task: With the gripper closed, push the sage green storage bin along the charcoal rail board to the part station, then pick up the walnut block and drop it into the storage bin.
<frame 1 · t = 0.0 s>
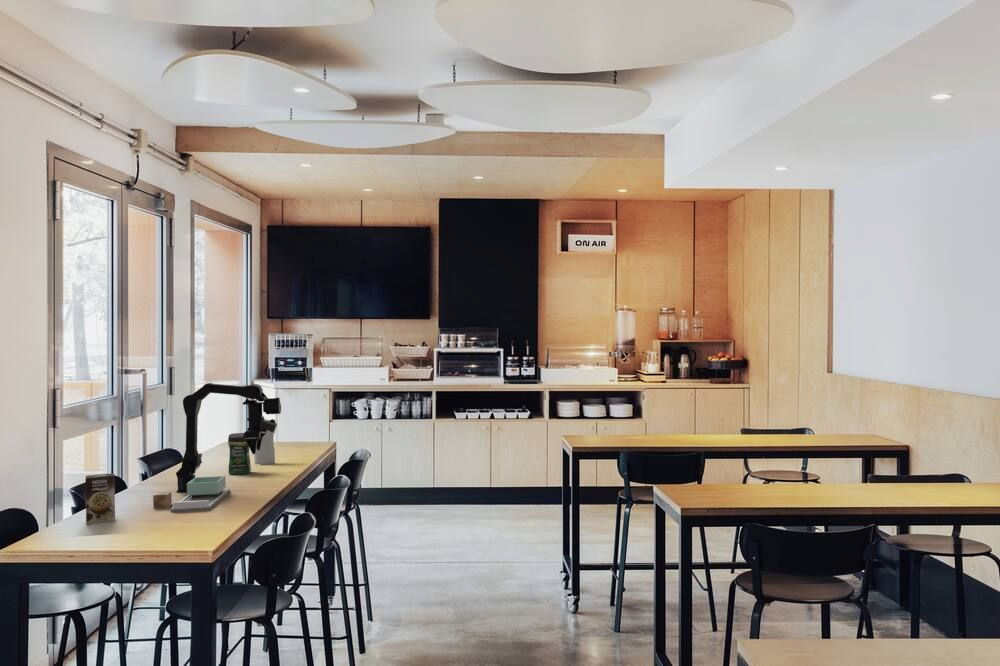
hand: (256, 452, 313), 15 cm above the table, fingers open, 9 cm apart
tall pale column: (264, 464, 366), on the table
block: (162, 506, 283), on the table
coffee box: (101, 521, 263), on the table
sage green storage bin: (206, 487, 296), point 4 cm above the table, slide at 0.0 cm
rail board: (202, 501, 289), on the table
coffee jar: (240, 473, 344), on the table
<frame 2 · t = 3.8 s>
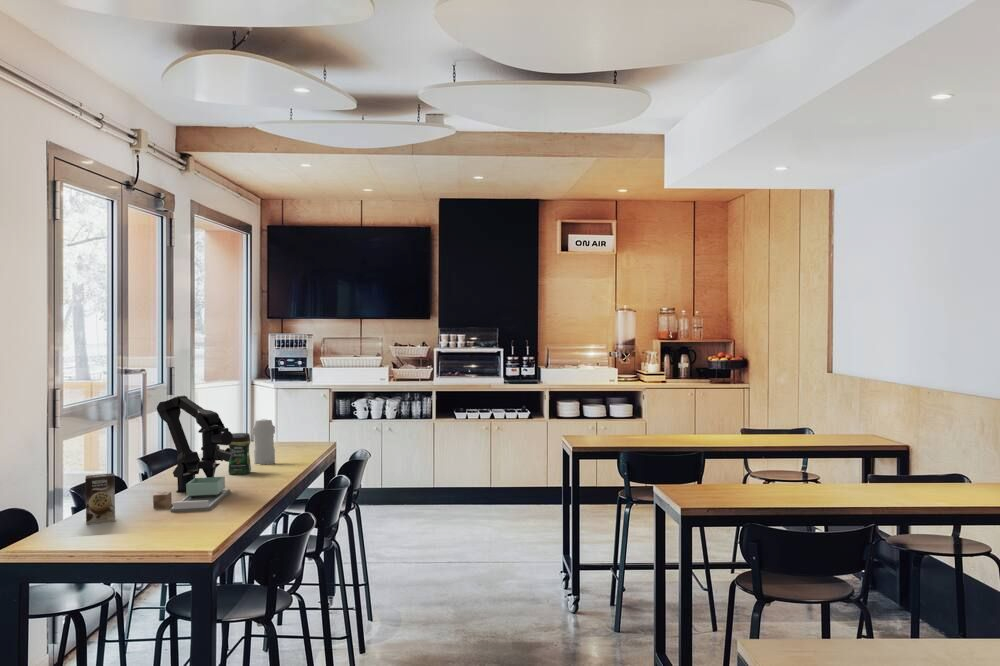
hand: (211, 482, 302), 5 cm above the table, fingers closed
sage green storage bin: (206, 487, 295), point 4 cm above the table, slide at 1.0 cm, touching gripper
everything else where it was.
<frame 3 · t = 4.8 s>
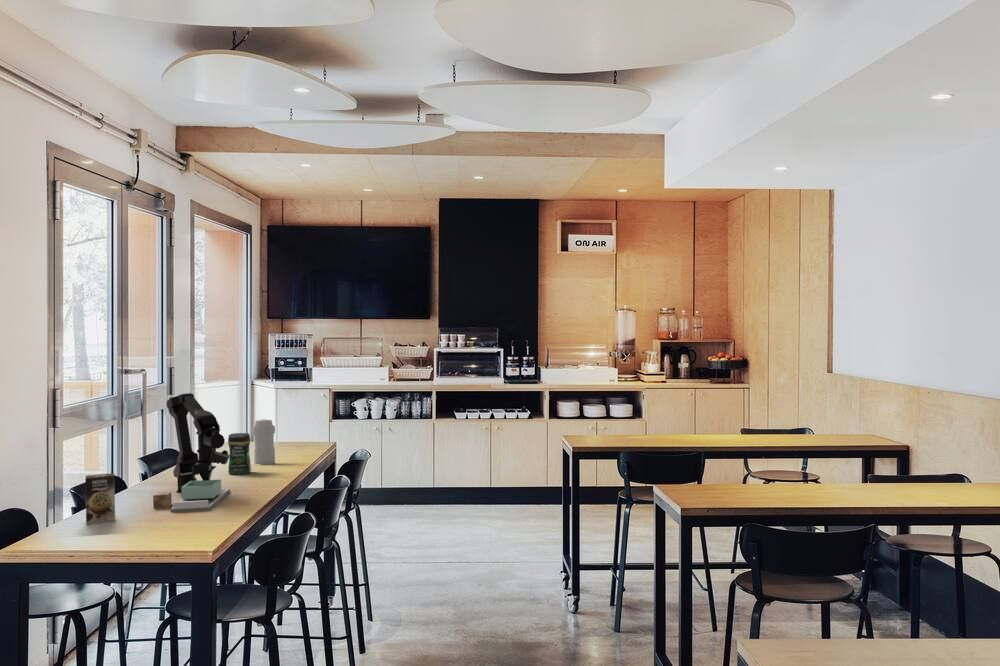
hand: (207, 485, 297), 5 cm above the table, fingers closed
sage green storage bin: (201, 490, 289), point 4 cm above the table, slide at 6.8 cm, touching gripper
everything else where it was.
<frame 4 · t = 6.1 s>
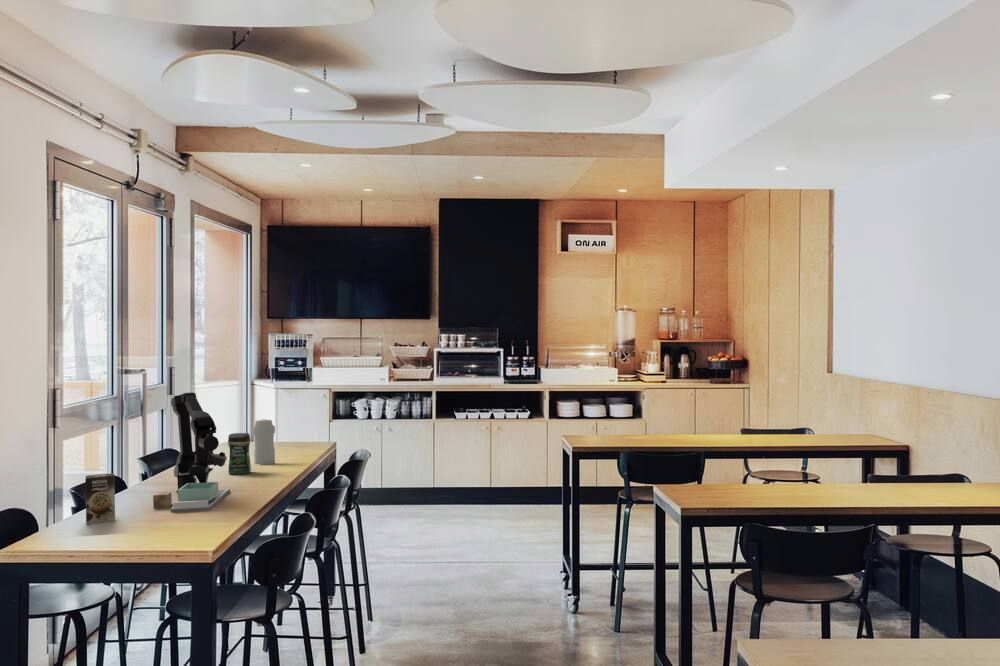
hand: (204, 487, 292), 5 cm above the table, fingers closed
sage green storage bin: (198, 493, 285), point 4 cm above the table, slide at 11.3 cm, touching gripper
everything else where it was.
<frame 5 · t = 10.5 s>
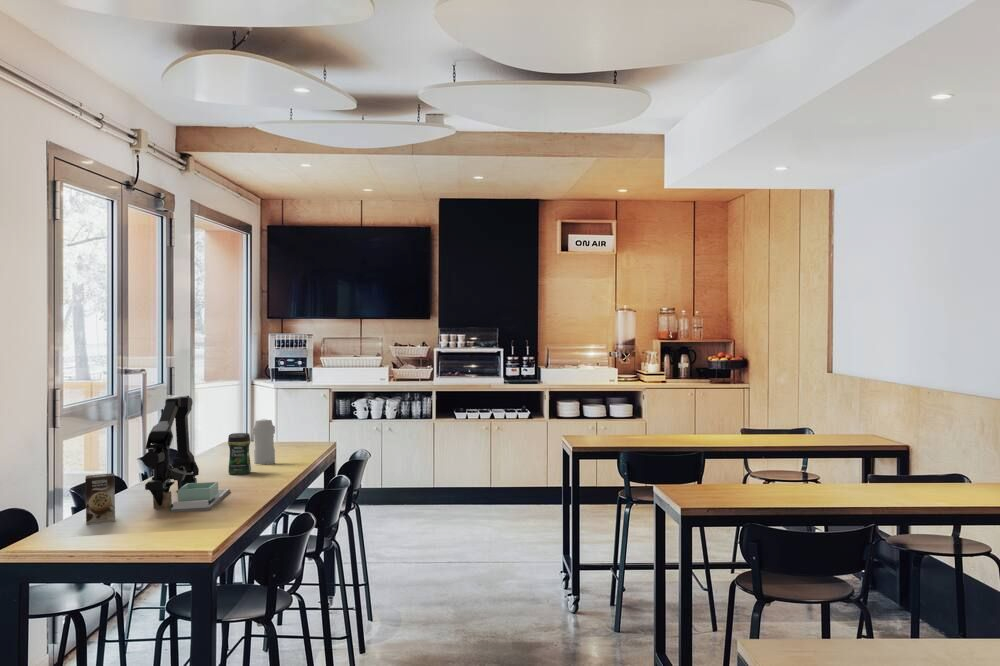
hand: (162, 503, 283), 1 cm above the table, fingers closed on block, 5 cm apart
block: (162, 506, 283), on the table, touching gripper
sage green storage bin: (198, 493, 285), point 4 cm above the table, slide at 11.3 cm
everything else where it was.
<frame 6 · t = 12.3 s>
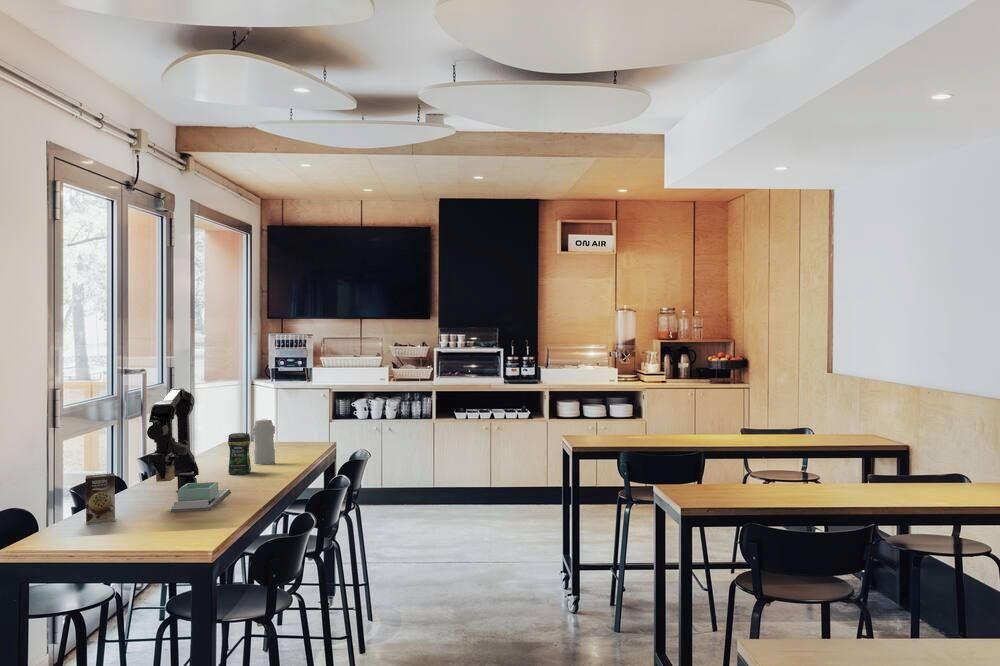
hand: (165, 477, 283), 11 cm above the table, fingers closed on block, 5 cm apart
block: (165, 480, 283), point 10 cm above the table, touching gripper
everything else where it was.
when the fingers open (7 cm above the table, at t = 14.0 s): block drops 3 cm, resting on sage green storage bin.
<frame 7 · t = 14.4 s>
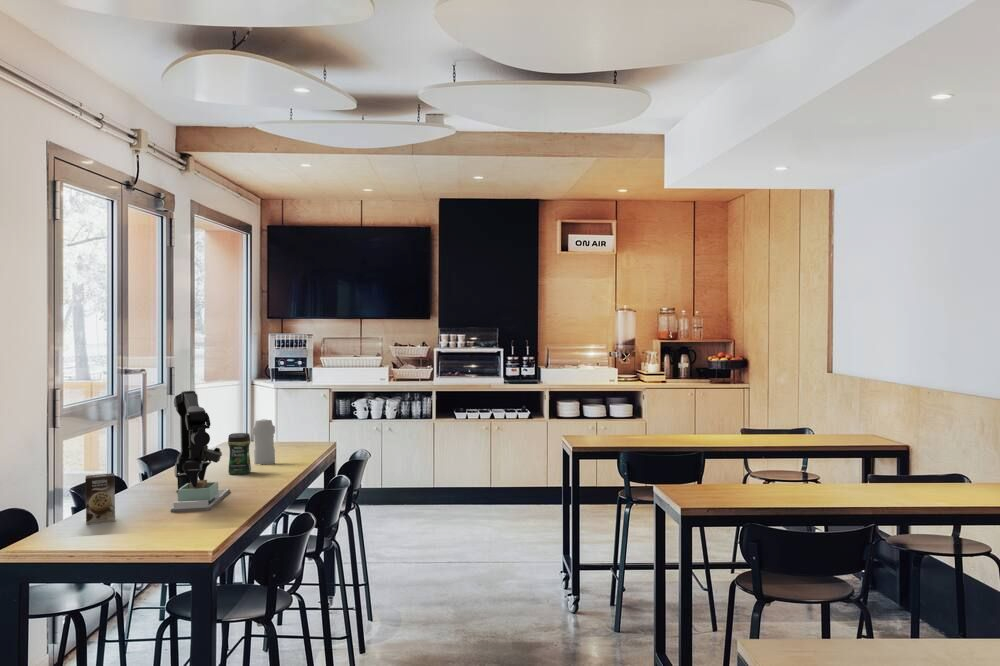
hand: (198, 484, 285), 7 cm above the table, fingers open, 9 cm apart
block: (198, 494, 285), point 4 cm above the table, touching sage green storage bin
sage green storage bin: (198, 493, 285), point 4 cm above the table, slide at 11.3 cm, touching block
everything else where it was.
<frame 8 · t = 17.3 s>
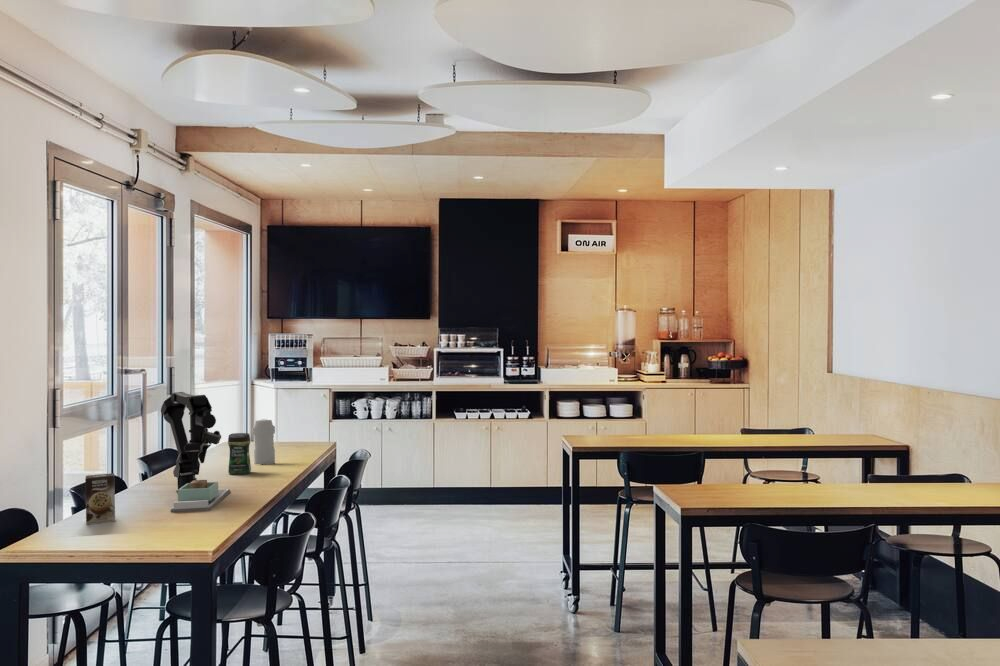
hand: (199, 465, 300), 12 cm above the table, fingers open, 9 cm apart
nothing on the table moved.
at the end: sage green storage bin slide at 11.3 cm; block touching sage green storage bin; block point 3.6 cm above the table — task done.
